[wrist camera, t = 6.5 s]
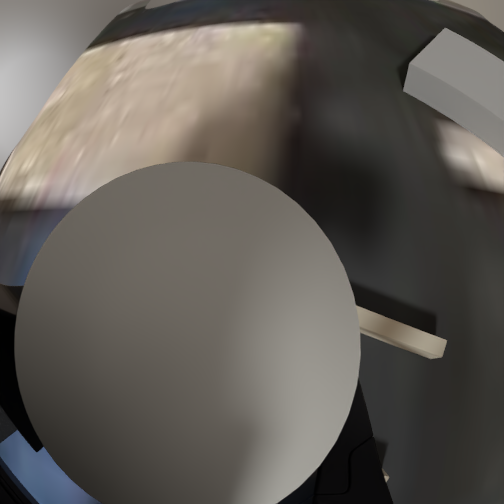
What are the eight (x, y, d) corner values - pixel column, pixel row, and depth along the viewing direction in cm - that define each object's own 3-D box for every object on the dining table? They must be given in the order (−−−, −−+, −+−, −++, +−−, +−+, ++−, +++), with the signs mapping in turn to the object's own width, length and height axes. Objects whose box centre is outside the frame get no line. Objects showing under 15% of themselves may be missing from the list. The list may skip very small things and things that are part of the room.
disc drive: (551, 206, 21) (573, 184, 16) (401, 94, 29) (409, 61, 24) (554, 132, 24) (568, 112, 19) (439, 50, 32) (445, 26, 27)
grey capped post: (250, 425, 14) (106, 554, 2) (201, 349, 16) (-7, 278, 4) (329, 374, 14) (447, 390, 2) (277, 300, 16) (215, 109, 4)
